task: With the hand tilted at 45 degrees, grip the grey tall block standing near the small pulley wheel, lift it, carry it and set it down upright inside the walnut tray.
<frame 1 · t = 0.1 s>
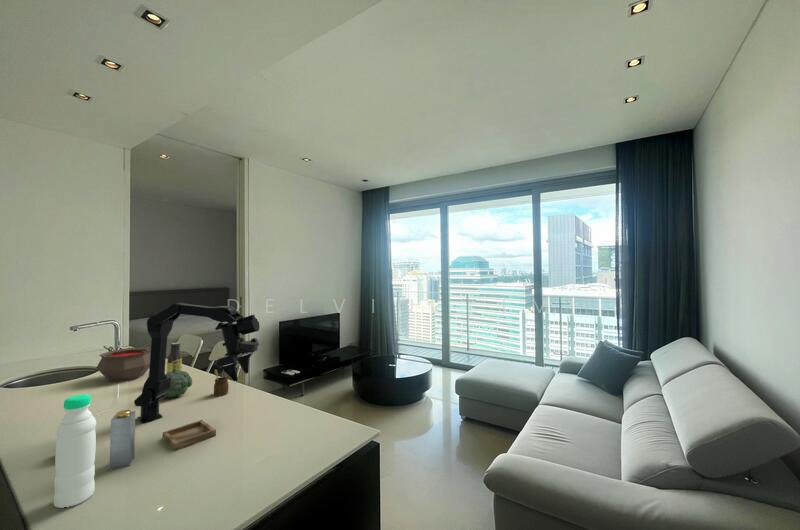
hand: (241, 376, 125), 15 cm above the counter, tool pointing down, fingers open, 9 cm apart
sauce bottle: (173, 382, 164), on the counter
water bottle: (74, 500, 79), on the counter
saucepan: (126, 378, 172), on the counter
pulley wheel: (73, 454, 99), on the counter
vegetable: (174, 395, 147), on the counter
tray: (189, 437, 109), on the counter
grey tall block: (122, 463, 94), on the counter
utensil holder: (220, 394, 149), on the counter
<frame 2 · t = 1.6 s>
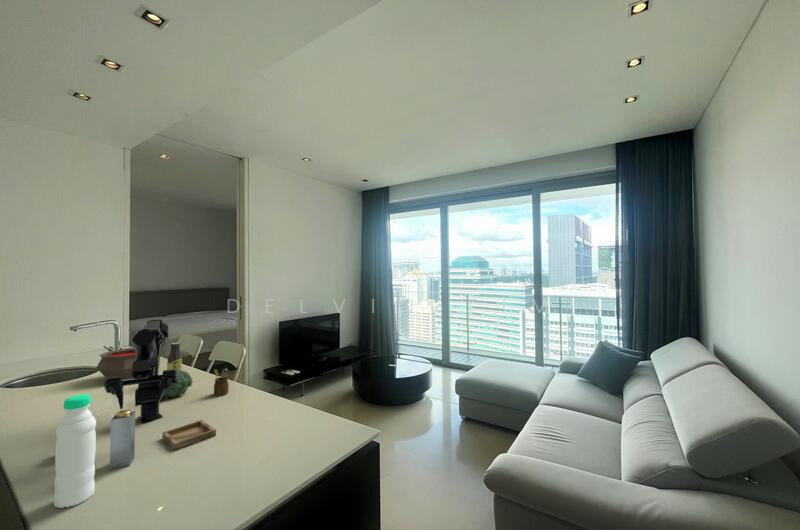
hand: (139, 405, 102), 14 cm above the counter, tool tilted 40°, fingers open, 9 cm apart
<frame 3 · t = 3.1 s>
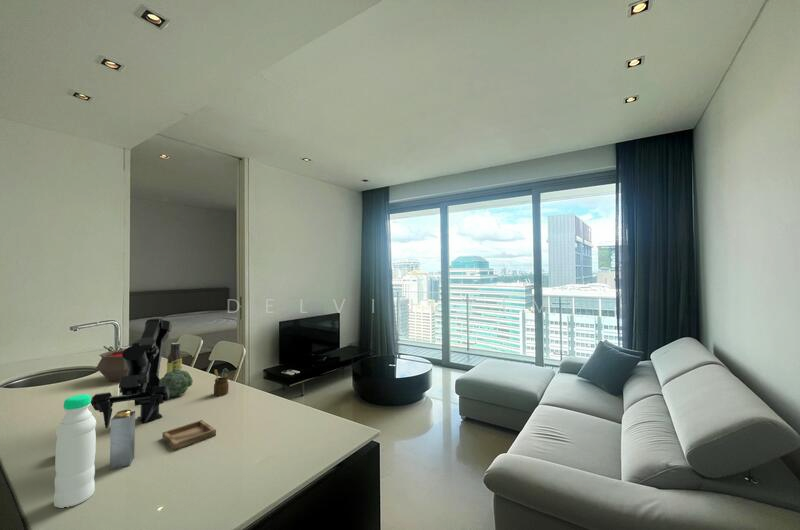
hand: (126, 424, 97), 10 cm above the counter, tool tilted 45°, fingers open, 9 cm apart
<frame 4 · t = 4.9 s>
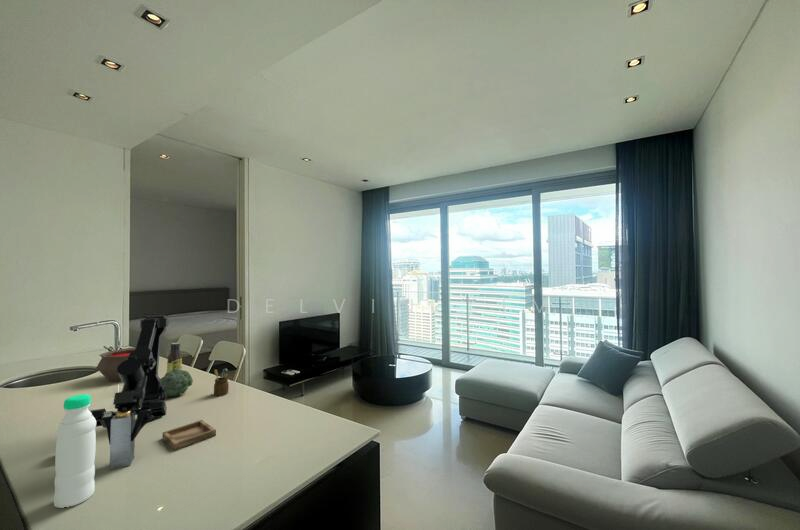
hand: (121, 442, 93), 7 cm above the counter, tool tilted 45°, fingers closed on grey tall block, 4 cm apart
grey tall block: (122, 463, 94), on the counter, touching gripper
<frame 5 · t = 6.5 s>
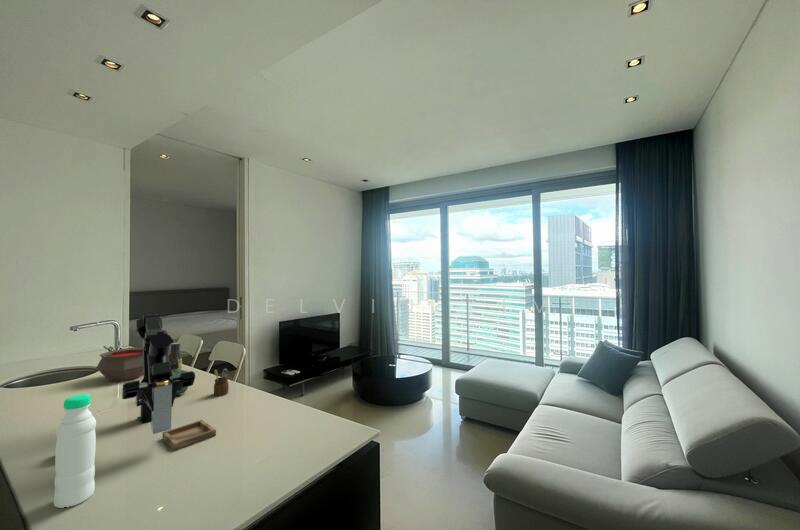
hand: (162, 408, 101), 13 cm above the counter, tool tilted 45°, fingers closed on grey tall block, 4 cm apart
grey tall block: (161, 429, 101), point 7 cm above the counter, touching gripper
when the fingers open (9 cm above the counter, at t = 8.2 s): grey tall block drops 1 cm, resting on tray.
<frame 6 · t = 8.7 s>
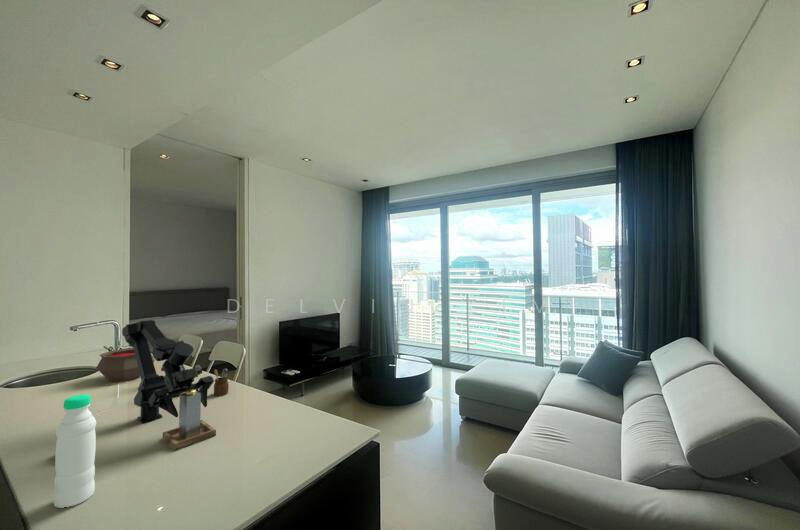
hand: (192, 411, 109), 9 cm above the counter, tool tilted 45°, fingers open, 9 cm apart
grey tall block: (189, 435, 109), point 1 cm above the counter, touching tray
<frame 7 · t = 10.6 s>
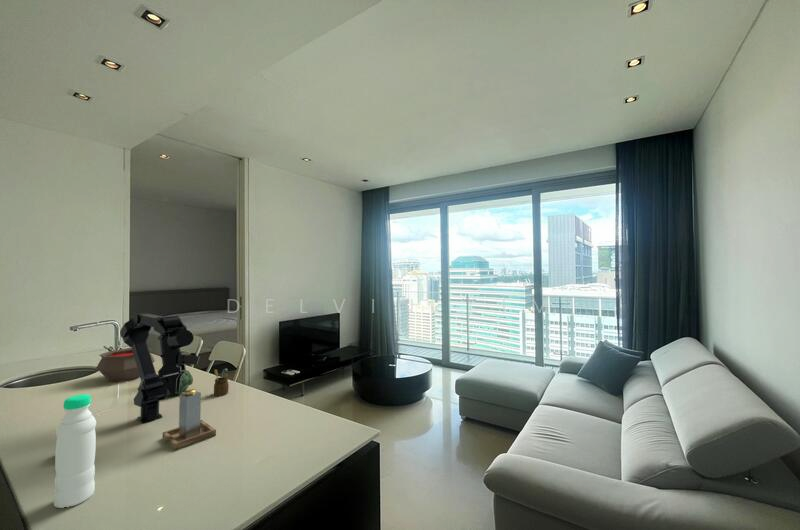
hand: (175, 393, 116), 12 cm above the counter, tool pointing down, fingers open, 9 cm apart
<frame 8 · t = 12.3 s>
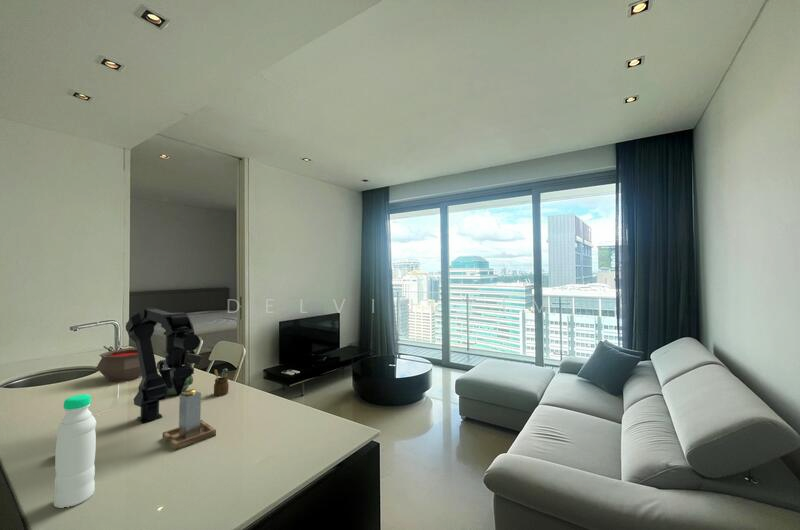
hand: (174, 391, 116), 13 cm above the counter, tool pointing down, fingers open, 9 cm apart
at the end: grey tall block inside the target area on the tray (0.1 cm from its centre), point 0.6 cm above the tray's base; grey tall block tilted 0°; the gripper is holding nothing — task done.
